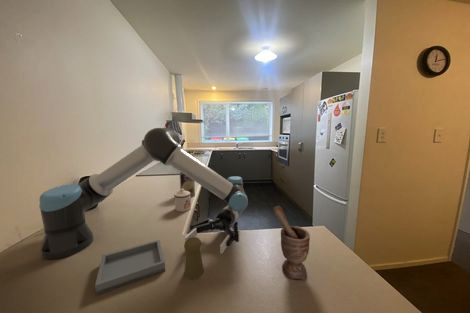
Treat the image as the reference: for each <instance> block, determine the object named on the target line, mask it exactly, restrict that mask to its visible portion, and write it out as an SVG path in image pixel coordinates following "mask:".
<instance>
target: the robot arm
mask: <svg viewBox="0 0 470 313" xmlns="http://www.w3.org/2000/svg"><path fill="white" fill-rule="evenodd" d="M155 161H156V162H160V163H161V164H163V165H165V166H171V167H173V168H174V169H176V170H177V171H179V173H180V172H182V173H183V174H185V175H186V176H188V177H189V178H191V179H192V180H194V183H197V184H198V185H200V186H201V187H203V188H205V189H206V190H208V191H209V192H211V193H212V194H214V195H215V196H217V197H218V198H220V199H221V200H223V201H224V202H226V203H227V205H225V207H224V208H223V209H222V210H221V211H220V212H219V213H218V214H217V215H216V217H215V218H214V219H212V218H211V217H210V216H208V217H207V218H205V219H202V220H200V221H196V222H195V223H193V224H190V225H189V228H190V230H189V231H188V234H186V236H184V243H185V242H186V240H187V239H189V238H192V237H196V236H198V234H200V233H202V232H203V233H204V232H206V231H209V230H210V231H213V230H216V231H217V230H219V231H223V232H224V233H225V235H226V237H225V238H224V239H223V241H222V242H221V243H220V245H219V253H220V255H221V254H223V253H224V252H225V250H226V249H227V247H230V246H231V245H232V243H234V242H235V243H239V242H240V234H239V229H238V228H239V226H238V224H239V223H238V222H237V221H236V220H237V219H238V218H239V217H240V216H241V214H242V213H243V212H244V210H246V208H248V207H247V206H248V205H249V200H248V196H247V194H246V192H245V190H244V187H243V186H244V183H243V177H241V176H237V175H236V176H235V175H234V176H229V177H228V178H227V179H226V178H224V177H223V175H222V176H221V175H220V174H219V173H217V172H216V171H215V170H213V169H212V168H210V167H208V165H206V164H204V163H203V162H201V161H200V160H198V159H197V158H195V157H194V156H192V154H190V153H188V152H187V151H186V150H184V149H183V147H182V145H181V138H180V136H179V133H178V132H176V130H174V129H173V128H170V127H155V128H151V129H150V130H148V131H147V132H146V133H145V135H144V137H143V139H142V140H141V145H140V146H138V147H137V148H135V149H134V150H133V151H131V152H130V153H128V154H127V155H125V156H124V157H122V158H121V159H120V160H118V161H117V162H115V163H114V164H112V165H111V166H109V167H108V168H106V169H105V170H104V171H102V172H100V173H93V174H91V175H90V176H88V177H87V178H85V179H84V180H82V181H81V182H79V183H77V184H74V183H73V184H72V183H70V184H63V185H59V186H55V187H52V188H50V189H47V190H46V191H44V192H43V193H42V194H41V195H40V196H39V207H38V208H39V210H40V214H41V219H42V224H43V225H42V226H43V229H44V237H43V240H42V244H41V247H40V248H41V249H40V254H41V257H42V259H45V260H58V259H61V258H62V259H63V258H66V257H69V256H71V255H72V256H73V255H74V254H75V255H76V254H77V253H79V252H81V251H83V250H85V249H86V248H87V247H89V246H90V245H91V244H92V243H93V242H94V234H93V232H92V230H91V228H90V227H89V225H88V224H87V222H86V215H85V212H86V211H88V210H89V209H91V208H93V207H94V206H96V205H98V204H100V203H101V202H104V200H105V199H106V198H108V197H109V196H110V195H112V194H113V192H114V189H115V188H116V187H118V186H119V185H121V184H122V183H124V182H125V181H127V180H128V179H129V178H131V177H132V176H134V175H135V174H137V173H138V172H140V171H141V170H142V169H144V168H146V167H147V166H149V165H150V164H152V162H155ZM231 229H232V230H233V232H232V230H231Z"/></svg>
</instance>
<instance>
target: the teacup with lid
mask: <svg viewBox="0 0 470 313" xmlns="http://www.w3.org/2000/svg"><path fill="white" fill-rule="evenodd" d="M190 195H191V193H190V192H189V191H185V190H184V189H181V190H180V189H179V191H176V192H175V193H174V194H173V196H174V208H175V209H174V210H175V211H177V212H180V213H183V212H188V211H189V210H191V208H192V202H191V200H192V199H191V197H190Z"/></svg>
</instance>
